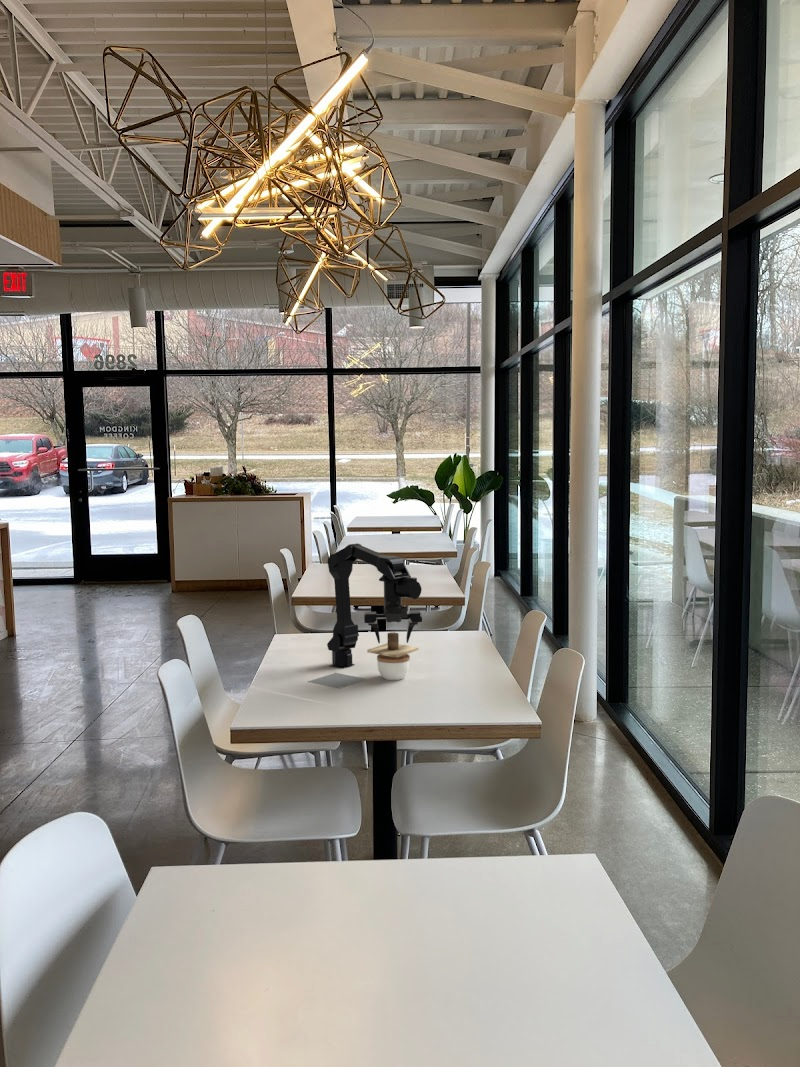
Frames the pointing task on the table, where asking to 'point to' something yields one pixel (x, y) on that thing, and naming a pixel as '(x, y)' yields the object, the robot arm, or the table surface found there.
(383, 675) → the lidded jar
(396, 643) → the lid
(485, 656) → the table surface
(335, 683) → the mat
